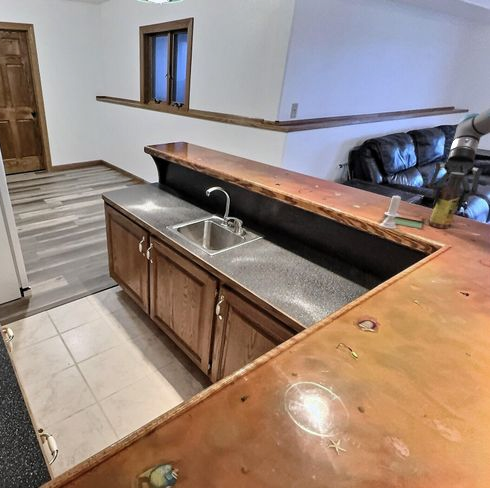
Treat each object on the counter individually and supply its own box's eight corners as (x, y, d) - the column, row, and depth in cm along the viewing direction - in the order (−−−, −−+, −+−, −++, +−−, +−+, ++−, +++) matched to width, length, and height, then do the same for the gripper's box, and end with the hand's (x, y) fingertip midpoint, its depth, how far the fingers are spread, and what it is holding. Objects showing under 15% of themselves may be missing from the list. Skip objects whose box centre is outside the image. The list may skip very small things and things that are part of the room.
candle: (383, 222, 133) (391, 191, 127) (398, 226, 129) (408, 195, 124) (377, 225, 130) (386, 194, 124) (393, 230, 126) (403, 198, 121)
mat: (422, 220, 134) (423, 219, 134) (421, 229, 127) (421, 228, 127) (387, 214, 140) (387, 213, 140) (383, 221, 133) (383, 220, 133)
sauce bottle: (445, 231, 125) (466, 176, 117) (425, 225, 129) (444, 173, 121) (451, 226, 129) (471, 173, 120) (431, 221, 133) (449, 170, 125)
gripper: (432, 144, 130) (415, 197, 125) (500, 149, 119) (485, 208, 115) (428, 156, 136) (412, 207, 131) (493, 162, 126) (477, 218, 121)
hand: (446, 207), depth 123 cm, fingers closed on sauce bottle, 6 cm apart
